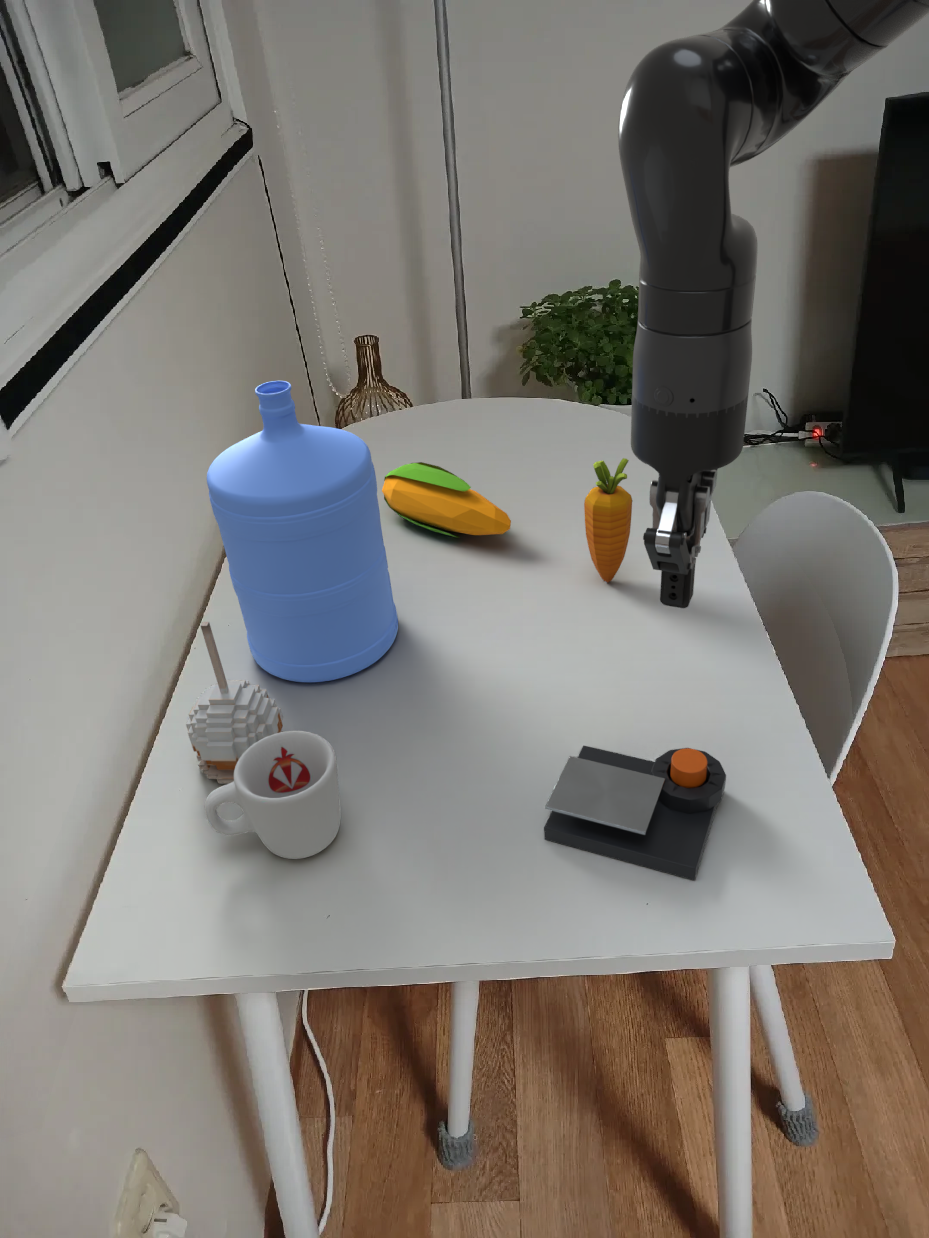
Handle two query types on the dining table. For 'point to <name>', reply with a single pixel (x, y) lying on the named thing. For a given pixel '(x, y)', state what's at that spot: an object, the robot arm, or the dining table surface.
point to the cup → (283, 794)
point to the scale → (672, 826)
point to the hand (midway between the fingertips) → (676, 601)
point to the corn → (441, 501)
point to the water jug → (304, 544)
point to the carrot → (608, 520)
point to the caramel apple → (228, 719)
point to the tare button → (688, 768)
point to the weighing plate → (606, 794)
